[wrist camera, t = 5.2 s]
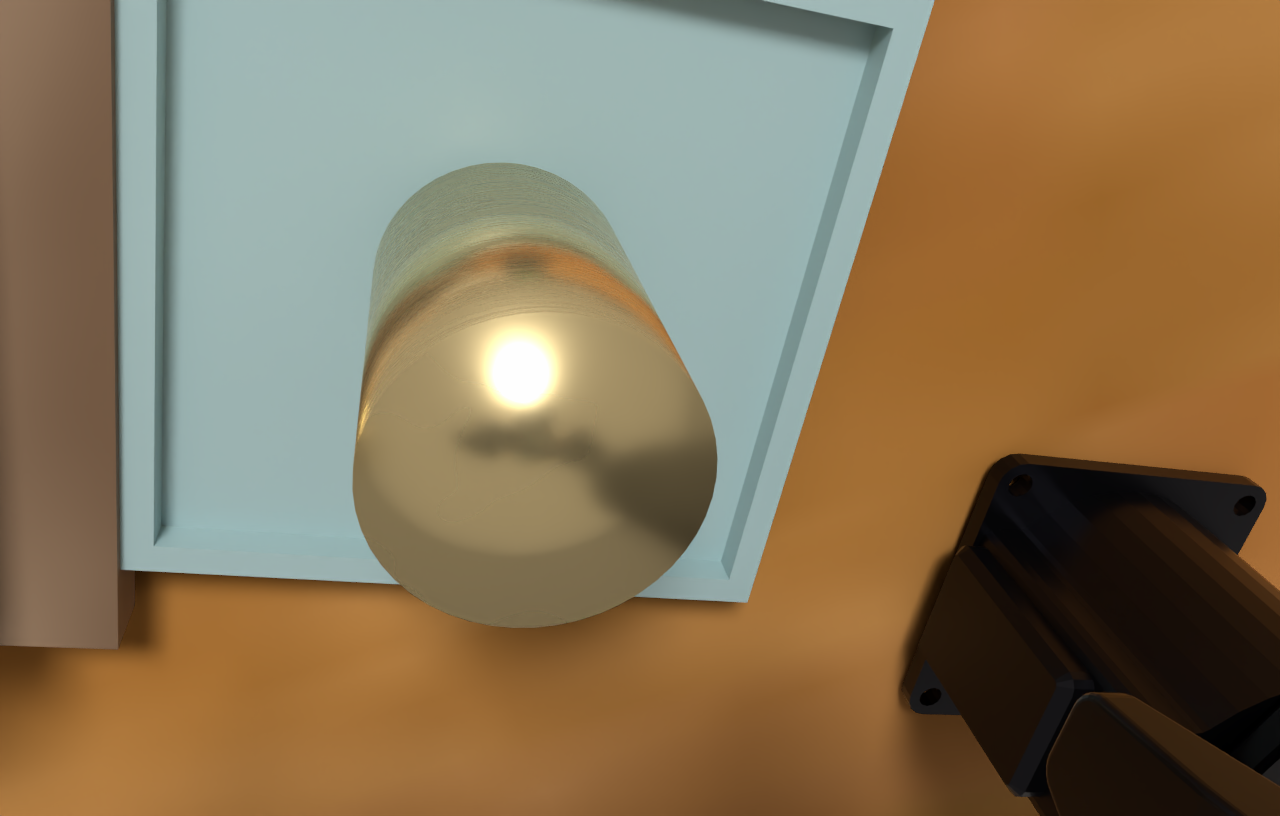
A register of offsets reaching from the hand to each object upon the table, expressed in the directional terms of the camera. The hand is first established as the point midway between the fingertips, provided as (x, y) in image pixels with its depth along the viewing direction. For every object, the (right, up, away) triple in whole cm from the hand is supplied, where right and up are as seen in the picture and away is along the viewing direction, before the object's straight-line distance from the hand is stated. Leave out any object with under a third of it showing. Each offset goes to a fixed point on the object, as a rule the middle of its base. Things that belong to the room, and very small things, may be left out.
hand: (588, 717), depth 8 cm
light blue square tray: (-2, +5, +9) cm, 10 cm away
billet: (-2, +4, +8) cm, 10 cm away
